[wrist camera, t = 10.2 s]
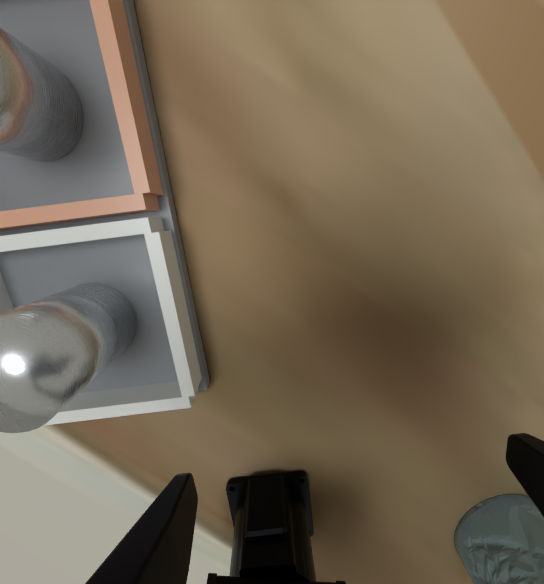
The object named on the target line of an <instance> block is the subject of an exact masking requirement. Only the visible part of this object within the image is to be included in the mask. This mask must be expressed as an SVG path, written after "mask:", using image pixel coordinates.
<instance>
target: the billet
mask: <svg viewBox="0 0 544 584" xmlns="http://www.w3.org/2000/svg"><path fill="white" fill-rule="evenodd" d="M137 328H138V320H137V315H136V312H135V310H134V308H133V306H132V304H131V303H130V301H129V300H128V299H127V298H126V297H125V296H124V295H123V294H122V293H121V292H119V291H118V290H116V289H115V288H113V287H111V286H108V285H105V284H101V283H84V284H80V285H77V286H74V287H72V288H69V289H66V290H63V291H61V292H58V293H55V294H52V295H49V296H47V297H44V298H41V299H38V300H36V301H33V302H30V303H27V304H25V305H22V306H19V307H16V308H13V309H11V310H8V311H5V312H2V313H0V432H6V433H19V432H26V431H30V430H34V429H36V428H39V427H41V426H43V425H44V424H46V423H47V422H48V421H50V420H51V419H52V418H53V417H54V416H55V415H56V414H57V413H58V412H59V411H60V410H61V409H62V408H64V407H65V406H66V405H67V404H68V403H69V402H70V401H71V400H72V399H73V398H74V397H75V396H76V395H77V394H78V393H79V392H81V391H82V390H83V389H84V388H85V387H86V386H87V385H88V384H89V383H90V382H91V381H92V380H93V379H94V378H95V377H97V376H98V375H99V374H100V373H101V372H102V371H103V370H104V369H105V368H106V367H107V366H108V365H109V364H110V363H111V362H112V361H114V360H115V359H116V358H117V357H118V356H119V355H120V354H121V353H122V352H123V351H124V350H125V349H126V348H127V347H128V346H129V345H130V344H131V343H132V342H133V340H134V338H135V336H136V333H137Z"/></svg>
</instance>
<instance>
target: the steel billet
mask: <svg viewBox="0 0 544 584" xmlns="http://www.w3.org/2000/svg"><path fill="white" fill-rule="evenodd" d="M83 127H84V112H83V107H82V103H81V100H80V97H79V95H78V93H77V91H76V89H75V87H74V86H73V84H72V83H71V81H70V80H69V79H68V78H67V77H66V75H65V74H64V73H63V72H61V71H60V70H59V69H58V68H57V67H55V66H54V65H52V64H51V63H50V62H48V61H47V60H45V59H44V58H43V57H41V56H40V55H39V54H37V53H36V52H34V51H33V50H32V49H30V48H29V47H27V46H26V45H25V44H23V43H22V42H20V41H19V40H18V39H16V38H15V37H13V36H12V35H11V34H9V33H8V32H7V31H5V30H4V29H2V28H1V27H0V152H3V153H7V154H11V155H15V156H19V157H23V158H27V159H31V160H36V161H42V162H50V161H55V160H59V159H61V158H63V157H65V156H67V155H68V154H69V153H71V152H72V151H73V150H74V149H75V147H76V146H77V144H78V143H79V141H80V139H81V136H82V133H83Z"/></svg>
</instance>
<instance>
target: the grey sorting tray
mask: <svg viewBox="0 0 544 584" xmlns="http://www.w3.org/2000/svg"><path fill="white" fill-rule="evenodd" d="M0 27H1V28H2V29H4V30H5V31H7V32H8V33H9V34H11V35H12V36H13V37H15V38H16V39H18V40H19V41H20V42H22V43H23V44H25V45H26V46H27V47H29V48H30V49H32V50H33V51H34V52H36V53H37V54H39V55H40V56H41V57H43V58H44V59H45V60H47V61H48V62H50V63H51V64H52V65H54V66H55V67H57V68H58V69H59V70H60V71H61V72H63V73H64V74H65V75H66V77H67V78H68V79H69V80H70V81H71V83H72V84H73V86H74V87H75V89H76V91H77V93H78V95H79V97H80V100H81V103H82V107H83V112H84V127H83V133H82V136H81V139H80V141H79V143H78V144H77V146H76V147H75V149H74V150H73V151H72V152H71V153H69V154H68V155H67V156H65V157H63V158H61V159H59V160H55V161H50V162H42V161H36V160H31V159H27V158H23V157H19V156H15V155H11V154H7V153H3V152H0V313H2V312H5V311H8V310H11V309H13V308H16V307H19V306H22V305H25V304H27V303H30V302H33V301H36V300H38V299H41V298H44V297H47V296H49V295H52V294H55V293H58V292H61V291H63V290H66V289H69V288H72V287H74V286H77V285H80V284H84V283H101V284H105V285H108V286H111V287H113V288H115V289H116V290H118V291H119V292H121V293H122V294H123V295H124V296H125V297H126V298H127V299H128V300H129V301H130V303H131V304H132V306H133V308H134V310H135V312H136V315H137V320H138V328H137V333H136V336H135V338H134V340H133V342H132V343H131V344H130V345H129V346H128V347H127V348H126V349H125V350H124V351H123V352H122V353H121V354H120V355H119V356H118V357H117V358H116V359H115V360H114V361H112V362H111V363H110V364H109V365H108V366H107V367H106V368H105V369H104V370H103V371H102V372H101V373H100V374H99V375H98V376H97V377H95V378H94V379H93V380H92V381H91V382H90V383H89V384H88V385H87V386H86V387H85V388H84V389H83V390H82V391H81V392H79V393H78V394H77V395H76V396H75V397H74V398H73V399H72V400H71V401H70V402H69V403H68V404H67V405H66V406H65V407H64V408H62V409H61V410H60V411H59V412H58V413H57V414H56V415H55V416H54V417H53V418H52V419H51V420H50V421H48V422H47V423H46V424H44V425H51V424H60V423H68V422H76V421H84V420H93V419H101V418H109V417H118V416H126V415H134V414H142V413H151V412H159V411H167V410H176V409H184V408H191V406H192V404H193V401H194V399H195V396H196V394H197V392H199V391H207V390H208V387H209V384H210V380H209V375H208V370H207V365H206V360H205V355H204V350H203V345H202V340H201V335H200V330H199V325H198V320H197V315H196V310H195V305H194V300H193V295H192V290H191V285H190V280H189V275H188V270H187V265H186V260H185V255H184V250H183V246H182V241H181V236H180V231H179V226H178V221H177V216H176V211H175V206H174V201H173V196H172V191H171V186H170V181H169V176H168V171H167V166H166V161H165V156H164V151H163V146H162V141H161V136H160V131H159V126H158V121H157V116H156V111H155V106H154V102H153V97H152V92H151V87H150V82H149V77H148V72H147V67H146V62H145V57H144V52H143V47H142V42H141V37H140V32H139V27H138V22H137V17H136V12H135V7H134V2H133V0H0Z"/></svg>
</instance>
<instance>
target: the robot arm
mask: <svg viewBox="0 0 544 584" xmlns="http://www.w3.org/2000/svg"><path fill="white" fill-rule="evenodd" d="M506 461H507V464H508V466H509V468H510V470H511V471H512V472H513V474H514V475H515V477H516V478H517V480H518V481H519V483H520V484H521V485H522V487H523V488H524V490H525V491H526V493H527V494H528V495H529V497H530V498H531V500H532V501H533V503H534V504H535V505H536V507H537V508H538V510H539V511H540V513H541V514H542V516H543V517H544V441H542V440H540V439H538V438H536V437H533V436H531V435H529V434H526V433H520V434H512V435H510V436H509V437H508V441H507V450H506ZM300 478H302V479H300ZM232 486H233V487H232ZM226 491H227V496H228V501H229V506H230V510H231V515H232V520H233V525H234V537H233V547H232V557H231V567H230V576H217V574H216V573H209V574H208V579H207V584H346V583H345V581H336V583H333V582H316V576H315V569H314V562H313V555H312V547H311V540H310V536H312V535H313V533H314V531H313V522H312V513H311V504H310V495H309V487H308V478H307V474H306V473H305V472H303V471H299V472H291V473H282V474H274V475H266V476H257V477H249V478H240V479H232V480H229V481H228V482H227V486H226ZM197 502H198V497H197V491H196V487H195V483H194V479H193V476H192V474H191V473H182V474H177V475H176V476H175V477H174V478H173V479H172V480H171V481H170V483H169V484H168V485H167V486H166V487H165V489H164V490H163V491H162V492H161V493H160V495H159V496H158V497H157V498H156V499H155V501H154V502H153V503H152V504H151V505H150V507H149V508H148V509H147V510H146V511H145V513H144V514H143V515H142V516H141V517H140V519H139V520H138V521H137V522H136V523H135V525H134V526H133V527H132V528H131V529H130V531H129V532H128V533H127V534H126V535H125V537H124V538H123V539H122V540H121V541H120V543H119V544H118V545H117V546H116V548H115V549H114V550H113V551H112V552H111V553H110V555H109V556H108V557H107V558H106V559H105V561H104V562H103V563H102V564H101V565H100V567H99V568H98V569H97V570H96V572H95V573H94V574H93V575H92V576H91V578H90V579H89V580H88V581H87V582H86V583H85V584H186V581H187V576H188V571H189V564H190V557H191V549H192V542H193V534H194V526H195V519H196V511H197Z"/></svg>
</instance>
